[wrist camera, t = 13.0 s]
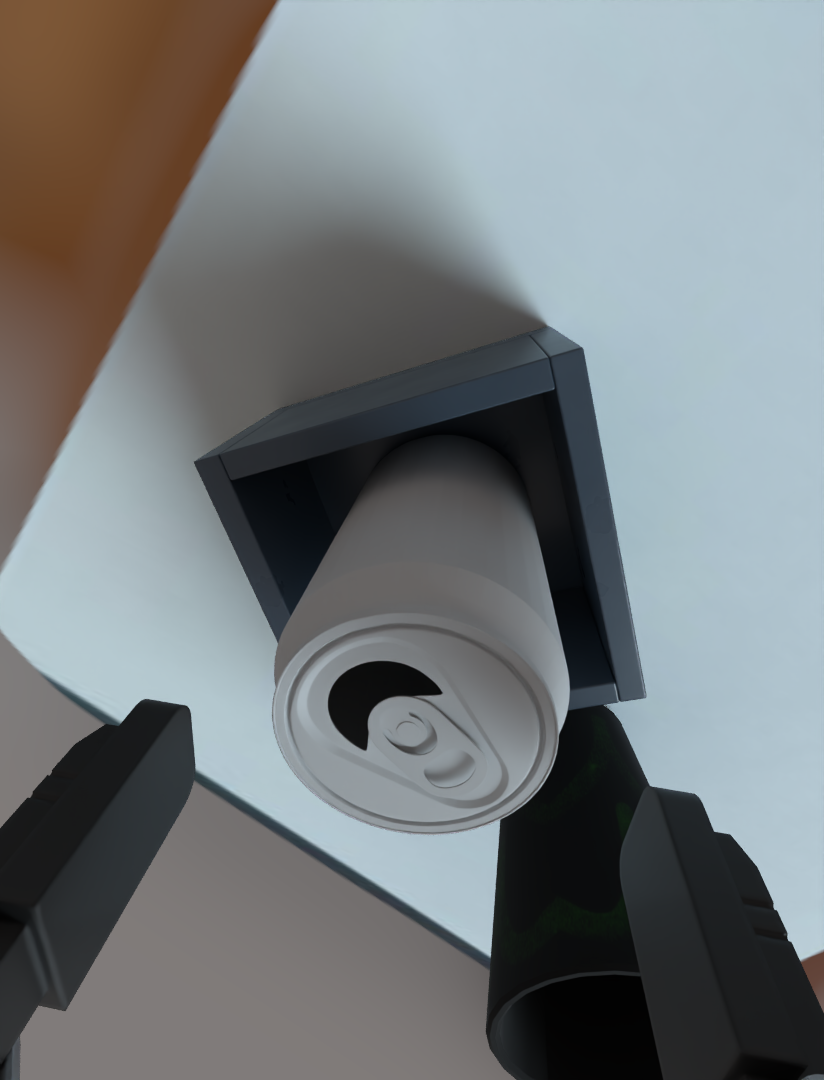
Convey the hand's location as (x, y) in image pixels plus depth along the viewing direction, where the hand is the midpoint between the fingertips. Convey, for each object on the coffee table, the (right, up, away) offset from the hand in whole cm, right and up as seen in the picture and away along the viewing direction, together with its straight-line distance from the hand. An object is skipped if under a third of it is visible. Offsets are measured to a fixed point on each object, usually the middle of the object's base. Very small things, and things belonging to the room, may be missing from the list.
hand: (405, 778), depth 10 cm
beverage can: (+1, +5, +12) cm, 13 cm away
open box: (+1, +6, +13) cm, 14 cm away
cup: (+7, -5, +17) cm, 20 cm away
